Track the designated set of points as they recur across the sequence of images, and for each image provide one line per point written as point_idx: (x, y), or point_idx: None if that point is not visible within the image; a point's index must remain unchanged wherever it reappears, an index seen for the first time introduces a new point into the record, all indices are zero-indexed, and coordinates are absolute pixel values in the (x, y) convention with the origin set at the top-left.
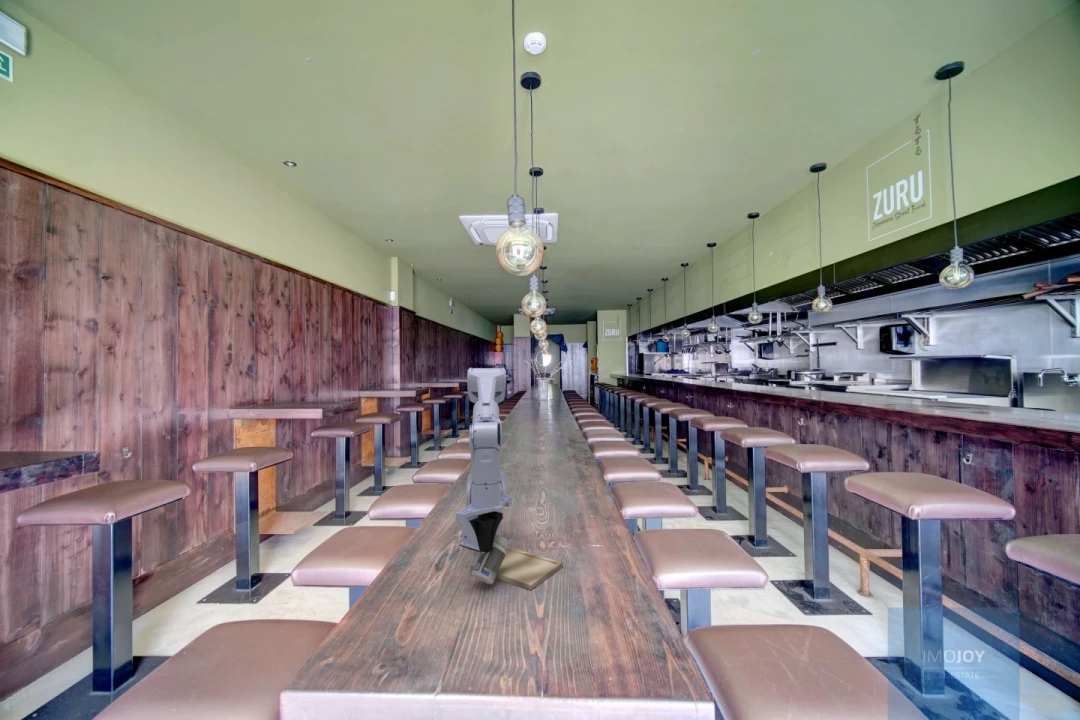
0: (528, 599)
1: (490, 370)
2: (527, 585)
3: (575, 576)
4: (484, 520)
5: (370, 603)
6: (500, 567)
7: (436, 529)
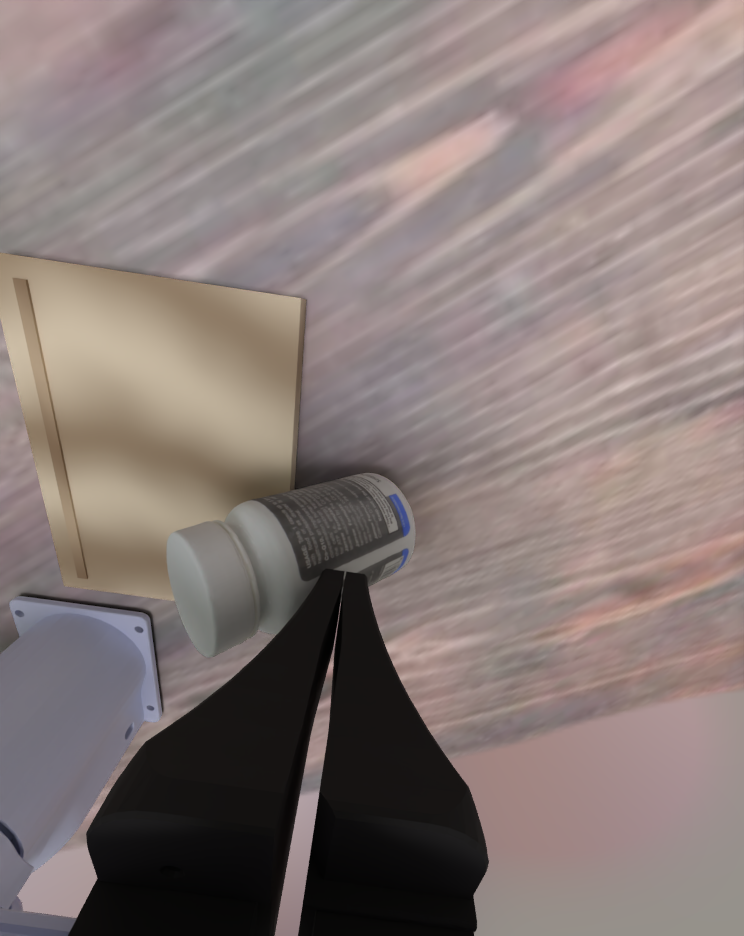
0: (380, 271)
1: None
2: (301, 321)
3: (42, 125)
4: (458, 874)
5: (587, 714)
6: None
7: None
